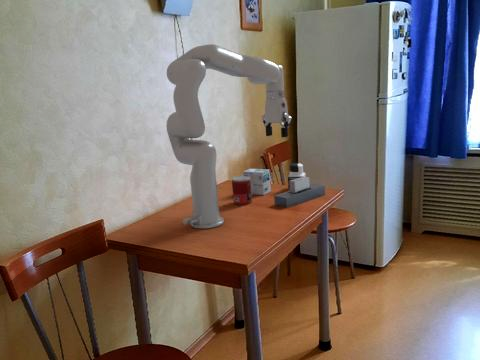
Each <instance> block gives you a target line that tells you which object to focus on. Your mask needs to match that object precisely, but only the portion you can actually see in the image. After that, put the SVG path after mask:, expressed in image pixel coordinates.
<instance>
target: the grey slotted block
mask: <svg viewBox="0 0 480 360" xmlns="http://www.w3.org/2000/svg"><path fill="white" fill-rule="evenodd" d="M309 187H310V190H301V191H298V194H292V193H290V191H289V190H287V191H284V192H281V193H278V194H275V195H273V197H274V198H273V201H274V206H278V207H282V208H285V207H286V209H287V207H288V208H290V206H291V207H293V206H296V205H299V204H302V203H305V202H307V201H310V200H314V199H316V198H319V197H322V196H324V195H326V185H324V184H323V185H322V184H318V183H317V184H316V183H309Z"/></svg>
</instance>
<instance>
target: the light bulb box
mask: <svg viewBox="0 0 480 360" xmlns="http://www.w3.org/2000/svg"><path fill="white" fill-rule="evenodd" d="M242 176H248V177H250V181H251V195H260V196H265V195H267V194H269V193H270V192H271V191H272V189H271V187H272V186H271V176H270V169H263V168H248V169H246V170H243V172H242Z"/></svg>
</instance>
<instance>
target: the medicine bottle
mask: <svg viewBox="0 0 480 360" xmlns="http://www.w3.org/2000/svg"><path fill="white" fill-rule="evenodd" d="M301 177H307V176H306V172H304V164H302V163H299V162H295V163H291V164H290V165H289V174H288V176H287V184H288V185H287V188H288V190H287V191H290V184H289V181H291V180H294V179H297V178H301Z"/></svg>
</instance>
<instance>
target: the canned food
mask: <svg viewBox="0 0 480 360" xmlns="http://www.w3.org/2000/svg"><path fill="white" fill-rule="evenodd" d="M231 186H232V197H233V199H232V200H233V203H234V205H236V206H246V205H250V204H251V203H252V201H253V197H252V195H253V194H251V181H250V177H248V176H243V175H239V176H235V177H232V178H231Z"/></svg>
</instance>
